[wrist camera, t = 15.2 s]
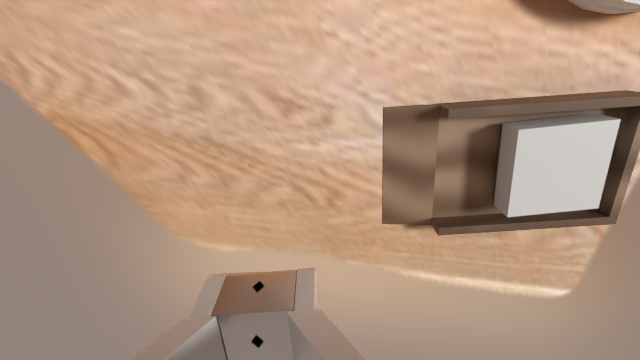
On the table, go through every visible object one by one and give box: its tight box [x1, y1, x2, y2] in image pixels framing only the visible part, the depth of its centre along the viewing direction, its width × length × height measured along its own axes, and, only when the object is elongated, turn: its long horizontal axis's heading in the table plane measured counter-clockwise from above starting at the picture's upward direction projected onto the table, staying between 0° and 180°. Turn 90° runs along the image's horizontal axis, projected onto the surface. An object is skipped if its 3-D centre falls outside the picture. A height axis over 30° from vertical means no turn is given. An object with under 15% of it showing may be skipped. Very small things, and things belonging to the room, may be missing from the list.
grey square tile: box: [493, 113, 621, 217], centre depth 36 cm, size 10×10×4 cm
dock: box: [383, 90, 640, 235], centre depth 38 cm, size 15×27×4 cm, turn 94°
